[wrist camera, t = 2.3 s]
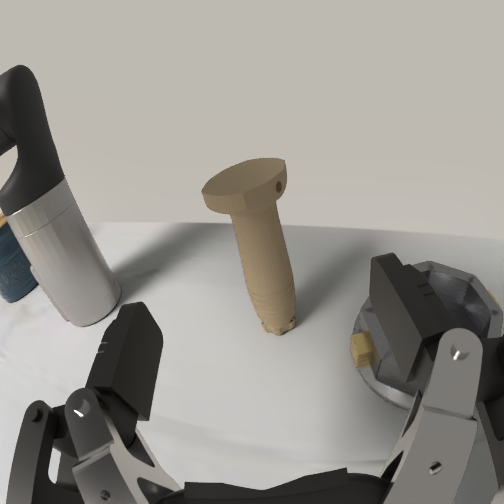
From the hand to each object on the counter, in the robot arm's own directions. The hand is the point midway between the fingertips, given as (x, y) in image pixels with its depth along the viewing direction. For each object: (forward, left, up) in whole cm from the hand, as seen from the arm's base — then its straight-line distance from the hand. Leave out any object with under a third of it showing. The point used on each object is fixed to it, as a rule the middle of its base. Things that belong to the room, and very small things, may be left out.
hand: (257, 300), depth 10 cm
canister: (-51, +29, -15) cm, 61 cm away
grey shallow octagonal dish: (+13, +5, -15) cm, 20 cm away
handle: (0, +11, -15) cm, 19 cm away
